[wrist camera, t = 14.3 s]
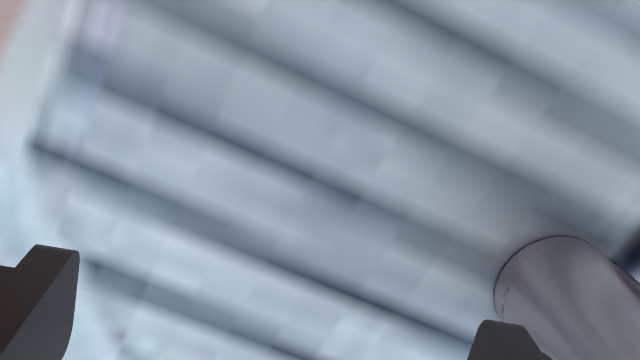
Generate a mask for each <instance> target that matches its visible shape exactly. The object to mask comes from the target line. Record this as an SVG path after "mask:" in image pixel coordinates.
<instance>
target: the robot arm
mask: <svg viewBox="0 0 640 360" xmlns="http://www.w3.org/2000/svg"><path fill="white" fill-rule="evenodd" d="M79 262H80V257H79V252H78V251H75V250H69V249H63V248H57V247H51V246H45V245H38V244H36V245H35V246H34V247H33V248H32V249H31V250H30V251H29V252H28V253H27V254H26V256H25V257H24V258H23V259H22V260H21V261H20V262H19V264H18V265H17V266H16V267H15V268H13V267H6V266H0V360H62V358H63V356H64V354H65V352H66V349H67V346H68V343H69V340H70V336H71V331H72V326H73V319H74V309H75V300H76V291H77V282H78V272H79ZM494 303H495V307H496V311H497V314H498V316H499V318H500V320H501V322H500V321H494V320H484V321H483V322H482V323H481V324H480V326H479V328H478V330H477V333H476V336H475V339H474V342H473V345H472V347H471V350H470V353H469V356H468V359H467V360H640V283H639V282H638V281H637V280H636V279H634V278H633V277H632V276H631V275H630V274H629V273H628V272H626V271H625V270H624V269H623V268H622V267H621V266H620V265H617V264H614V263H612V262H611V261H610V260H609V259H608V258H607V257H606V256H604V255H603V254H602V253H601V252H600V251H599V250H598V249H596V248H595V247H594V246H592V245H591V244H590V243H587V242H585V241H583V240H581V239H577V238H572V237H552V238H547V239H542V240H540V241H537V242H535V243H532V244H530V245H528V246H527V247H525V248H524V249H522V250H520V251H519V252H518V253H517V254H516V255H515V256H514V257H512V258H511V259H510V260H509V262H508V263H507V264H506V266H505V267H504V268H503V270H502V272H501V274H500V276H499V278H498V280H497V283H496V287H495V292H494Z"/></svg>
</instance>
